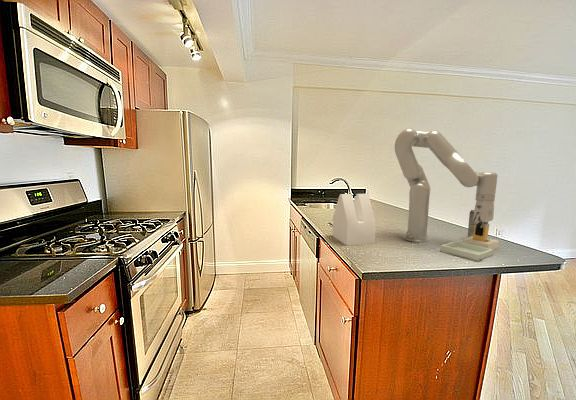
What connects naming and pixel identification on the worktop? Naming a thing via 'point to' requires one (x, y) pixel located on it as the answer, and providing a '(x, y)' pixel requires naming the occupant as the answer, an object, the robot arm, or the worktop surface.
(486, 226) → the fuse
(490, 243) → the beige square stand
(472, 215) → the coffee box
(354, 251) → the worktop surface
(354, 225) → the white notched block
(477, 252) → the parts tray
